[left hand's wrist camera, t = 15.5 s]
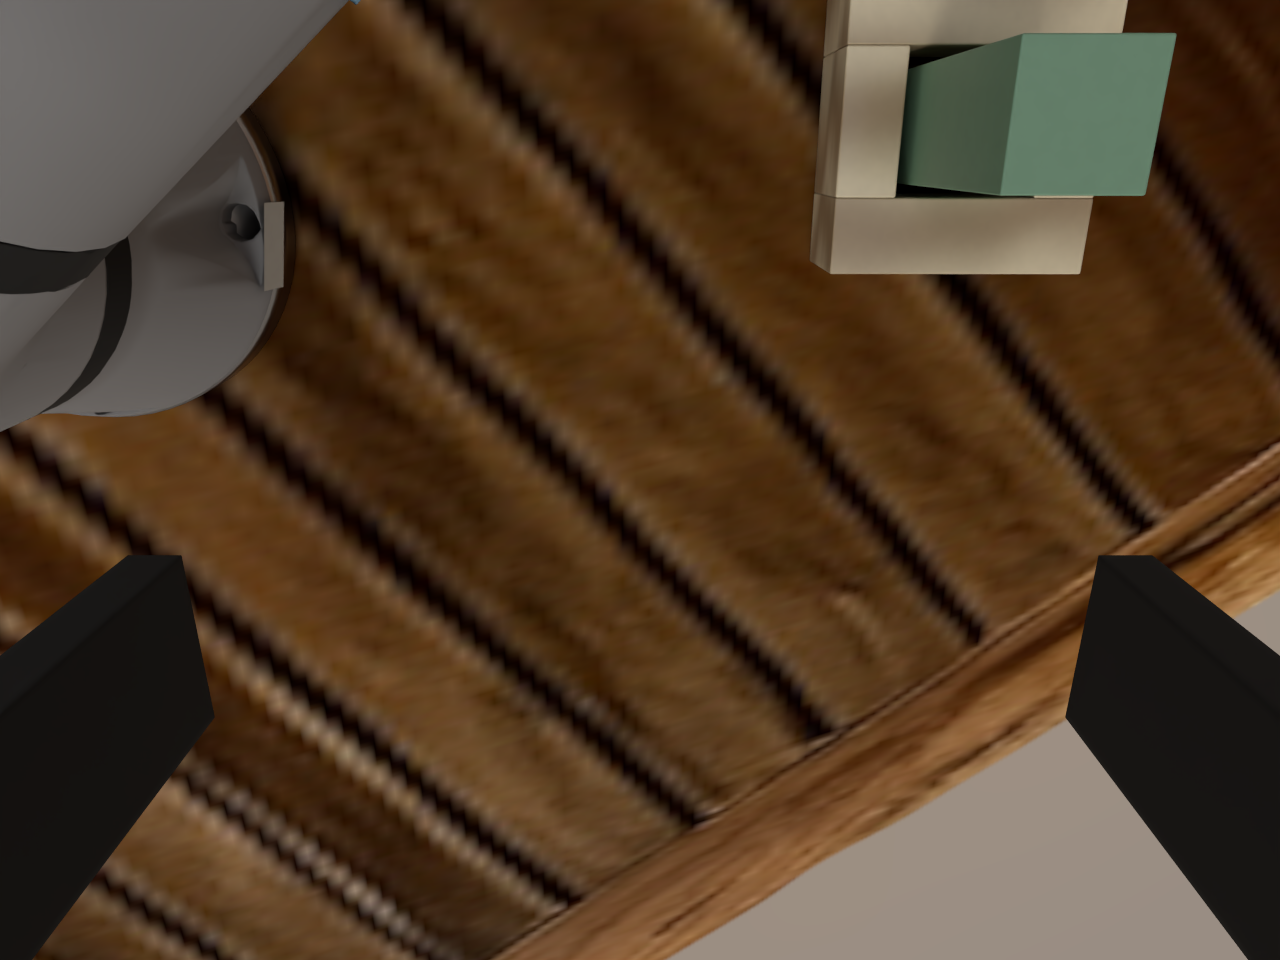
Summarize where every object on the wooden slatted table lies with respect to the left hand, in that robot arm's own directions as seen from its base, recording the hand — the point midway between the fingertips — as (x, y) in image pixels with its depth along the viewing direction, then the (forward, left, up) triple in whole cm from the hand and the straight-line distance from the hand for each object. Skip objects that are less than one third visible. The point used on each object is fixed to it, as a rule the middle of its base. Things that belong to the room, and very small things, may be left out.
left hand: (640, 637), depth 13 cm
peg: (+3, +13, -25) cm, 28 cm away
